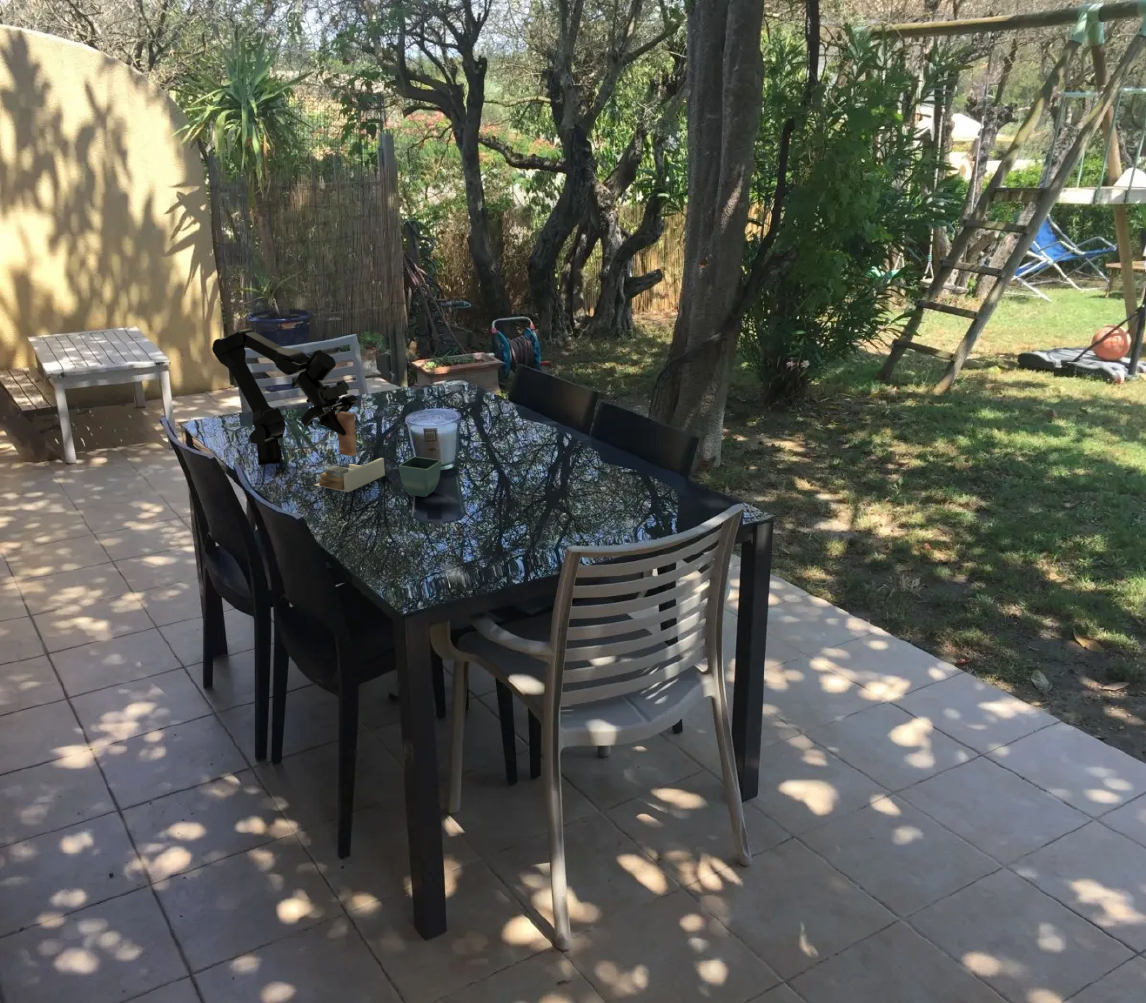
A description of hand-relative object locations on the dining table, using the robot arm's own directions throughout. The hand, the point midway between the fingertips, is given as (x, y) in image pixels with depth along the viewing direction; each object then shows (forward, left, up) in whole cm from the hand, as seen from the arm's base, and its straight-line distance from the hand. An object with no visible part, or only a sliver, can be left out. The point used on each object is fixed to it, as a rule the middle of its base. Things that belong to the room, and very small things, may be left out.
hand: (347, 433), depth 278 cm
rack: (-1, -6, -13) cm, 14 cm away
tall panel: (0, 0, -6) cm, 6 cm away
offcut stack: (-5, -9, -12) cm, 15 cm away
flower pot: (+17, -20, -13) cm, 29 cm away
